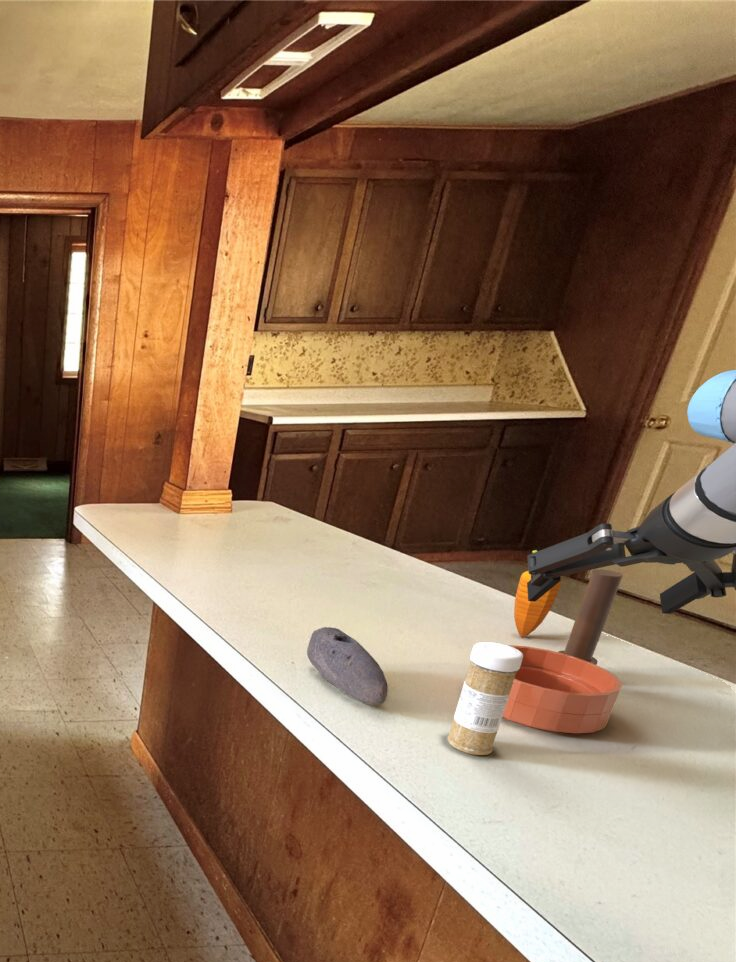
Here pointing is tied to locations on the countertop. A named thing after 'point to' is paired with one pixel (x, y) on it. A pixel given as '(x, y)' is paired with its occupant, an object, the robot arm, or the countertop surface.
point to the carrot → (531, 606)
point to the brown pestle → (592, 614)
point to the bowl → (561, 693)
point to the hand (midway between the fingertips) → (595, 598)
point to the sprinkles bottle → (484, 697)
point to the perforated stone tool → (347, 665)
